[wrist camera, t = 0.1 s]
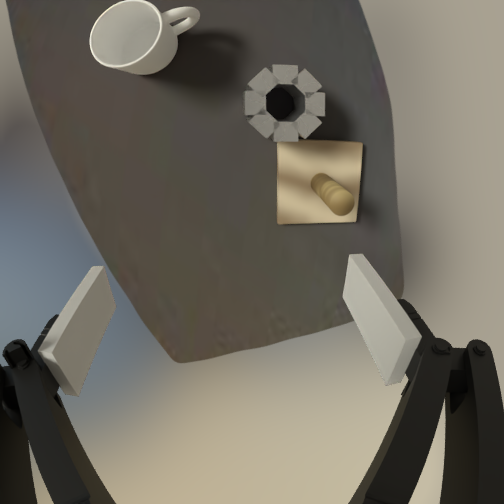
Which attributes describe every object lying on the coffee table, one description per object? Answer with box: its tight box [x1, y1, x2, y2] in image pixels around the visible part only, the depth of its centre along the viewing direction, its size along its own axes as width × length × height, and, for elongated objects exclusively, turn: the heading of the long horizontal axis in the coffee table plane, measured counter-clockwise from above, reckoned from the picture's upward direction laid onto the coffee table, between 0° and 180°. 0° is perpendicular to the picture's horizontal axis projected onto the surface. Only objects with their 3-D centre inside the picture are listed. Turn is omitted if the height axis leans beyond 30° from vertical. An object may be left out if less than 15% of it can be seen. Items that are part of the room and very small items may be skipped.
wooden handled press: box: [277, 139, 363, 224], centre depth 37 cm, size 12×12×10 cm
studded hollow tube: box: [242, 65, 325, 142], centre depth 33 cm, size 9×9×7 cm
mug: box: [90, 0, 200, 75], centre depth 26 cm, size 12×8×10 cm
